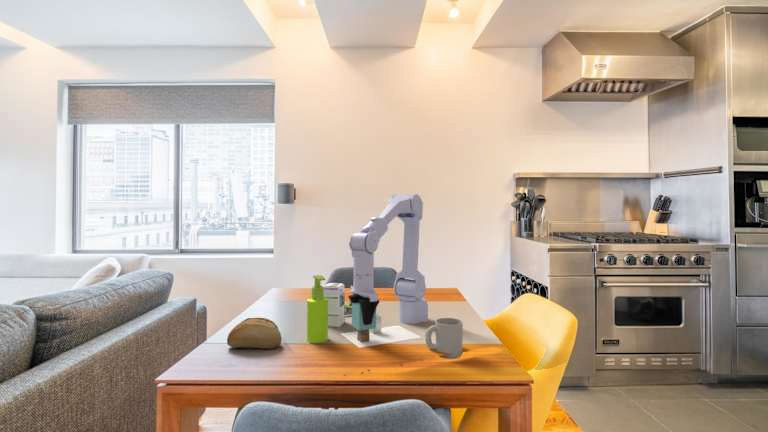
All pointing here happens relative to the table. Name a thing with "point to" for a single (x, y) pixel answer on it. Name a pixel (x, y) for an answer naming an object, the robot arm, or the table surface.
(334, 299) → the syrup box
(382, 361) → the table surface
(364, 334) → the walnut post
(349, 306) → the salad plate
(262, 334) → the bread roll
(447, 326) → the cup
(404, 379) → the table surface
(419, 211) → the robot arm
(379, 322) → the steel post
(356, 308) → the teal rectangular block
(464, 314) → the table surface
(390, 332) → the post board
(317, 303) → the soap dispenser
